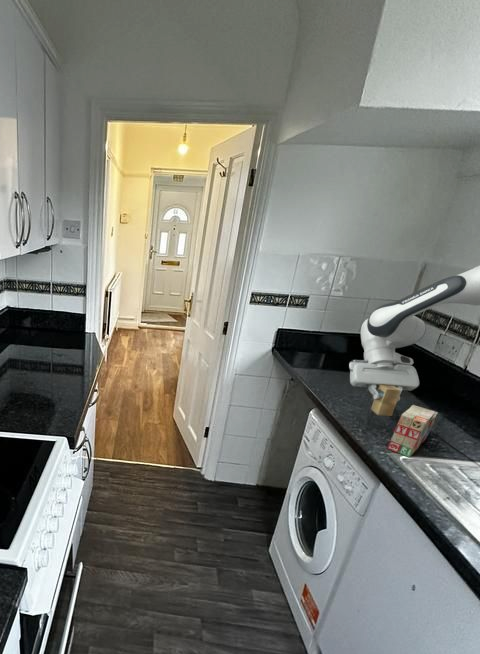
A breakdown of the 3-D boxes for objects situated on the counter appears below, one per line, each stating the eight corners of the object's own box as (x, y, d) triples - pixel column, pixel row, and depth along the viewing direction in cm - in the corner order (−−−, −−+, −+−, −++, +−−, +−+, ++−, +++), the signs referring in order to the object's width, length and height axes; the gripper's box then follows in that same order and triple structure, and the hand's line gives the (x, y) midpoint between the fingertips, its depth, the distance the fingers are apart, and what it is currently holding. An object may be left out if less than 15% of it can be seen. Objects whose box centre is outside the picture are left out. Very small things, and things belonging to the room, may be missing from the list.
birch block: (384, 410, 138) (393, 385, 134) (391, 416, 134) (401, 390, 130) (370, 409, 138) (379, 384, 135) (377, 414, 134) (386, 389, 131)
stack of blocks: (406, 429, 143) (420, 397, 138) (427, 437, 139) (443, 404, 134) (386, 448, 130) (401, 414, 125) (409, 457, 126) (426, 422, 120)
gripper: (353, 355, 136) (359, 393, 131) (418, 359, 135) (426, 398, 130) (343, 363, 142) (348, 400, 137) (405, 368, 141) (412, 405, 136)
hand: (387, 399), depth 134 cm, fingers closed on birch block, 4 cm apart
